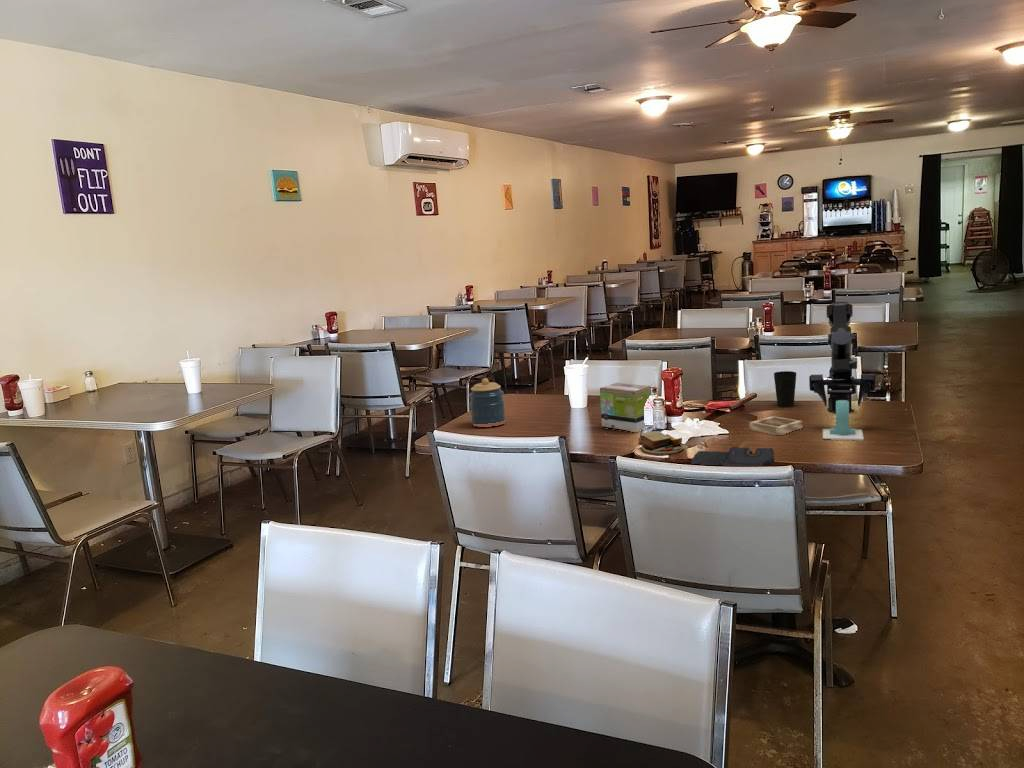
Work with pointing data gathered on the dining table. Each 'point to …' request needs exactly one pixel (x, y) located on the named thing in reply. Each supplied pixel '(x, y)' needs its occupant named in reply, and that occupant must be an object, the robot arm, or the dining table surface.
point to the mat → (843, 436)
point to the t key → (842, 419)
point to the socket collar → (784, 426)
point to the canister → (487, 403)
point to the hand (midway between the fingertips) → (842, 405)
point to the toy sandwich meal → (660, 443)
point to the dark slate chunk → (735, 457)
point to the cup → (785, 388)
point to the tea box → (624, 405)
